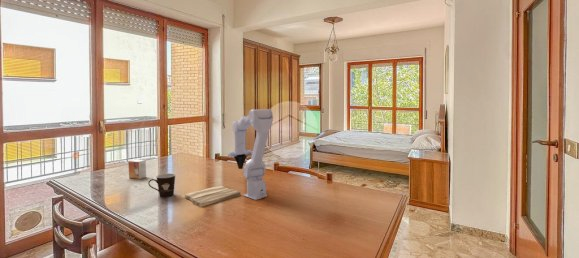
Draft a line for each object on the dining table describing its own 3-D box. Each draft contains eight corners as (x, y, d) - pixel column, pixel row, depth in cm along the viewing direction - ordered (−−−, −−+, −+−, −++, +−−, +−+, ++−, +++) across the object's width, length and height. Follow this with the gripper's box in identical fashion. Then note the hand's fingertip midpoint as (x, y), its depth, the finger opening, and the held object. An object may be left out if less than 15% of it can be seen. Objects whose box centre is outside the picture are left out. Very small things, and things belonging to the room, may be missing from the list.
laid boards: (240, 195, 146) (240, 191, 146) (200, 206, 130) (200, 203, 130) (232, 192, 151) (232, 189, 150) (192, 203, 134) (192, 199, 134)
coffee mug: (179, 192, 149) (178, 173, 148) (170, 198, 141) (169, 178, 140) (157, 192, 151) (156, 173, 150) (147, 197, 142) (146, 177, 141)
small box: (128, 178, 178) (127, 161, 176) (136, 175, 183) (135, 159, 182) (139, 179, 175) (138, 161, 174) (146, 176, 181) (145, 160, 179)
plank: (229, 191, 151) (229, 188, 150) (193, 201, 136) (193, 198, 136) (220, 188, 156) (220, 185, 156) (184, 197, 141) (184, 194, 141)
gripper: (246, 141, 164) (246, 165, 165) (224, 144, 153) (224, 169, 155) (254, 142, 159) (254, 167, 161) (232, 145, 149) (232, 172, 150)
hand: (240, 168), depth 157 cm, fingers closed
